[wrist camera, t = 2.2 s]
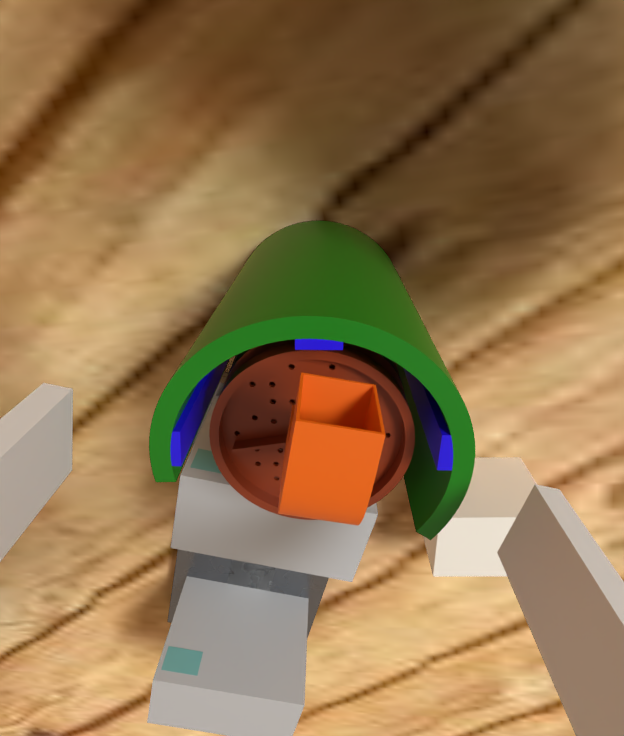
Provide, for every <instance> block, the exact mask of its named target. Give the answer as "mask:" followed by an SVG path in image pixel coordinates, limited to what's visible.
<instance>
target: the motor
mask: <svg viewBox="0 0 624 736" xmlns="http://www.w3.org/2000/svg"><path fill="white" fill-rule="evenodd" d="M235 355H236V356H235ZM233 356H235V359H234V361H233V364H232V367H231V369H230V371H229V373H228V376H227V378H226V380H225V383H224V386H223V389H222V391H221V393H220V395H219V397H218V400H217V402H216V404H215V407H214V410H213V413H212V416H211V421H210V429H209V437H210V446H211V450H212V454H213V457H214V460H215V462H216V465H217V466H218V468H219V470H220V472H221V473H222V475H223V476H224V478H225V479H226V481H227V482H228V483H229V484H230V485H231V486H232V487H233V488H234V489H235V490H236V491H237V492H238V493H239V494H240V495H242V496H243V497H244V498H245V499H247V500H248V501H250V502H251V503H253V504H255V505H257V506H258V507H260V508H262V509H265V510H267V511H269V512H272V513H275V514H278V515H281V516H285V517H289V518H295V519H303V520H324V521H330V522H337V523H344V524H350V525H360V523H361V522H362V520H363V518H364V515H365V513H366V510H367V508H368V507H370V506H371V505H373V504H375V503H376V502H378V501H379V500H381V499H382V498H383V497H385V496H386V495H387V494H388V493H389V492H390V491H391V490H392V489H393V488H394V487H395V486H396V485H397V484H398V483H399V481H400V480H401V479H402V477H403V476H404V480H405V484H406V489H407V493H408V498H409V502H410V506H411V511H412V515H413V520H414V524H415V529H416V532H418V533H419V534H421V535H423V536H424V537H426V538H428V539H429V540H432V539H433V538H434V537H435V536H436V535H437V534H438V533H439V532H440V531H441V530H442V529H443V528H444V527H445V526H446V525H447V523H448V522H449V521H450V520H451V519H452V517H453V516H454V514H455V513H456V511H457V510H458V508H459V507H460V505H461V503H462V501H463V499H464V497H465V495H466V493H467V490H468V488H469V485H470V482H471V478H472V474H473V469H474V463H475V439H474V432H473V427H472V423H471V419H470V416H469V413H468V411H467V408H466V406H465V404H464V402H463V400H462V398H461V396H460V394H459V392H458V390H457V388H456V386H455V384H454V382H453V380H452V378H451V376H450V374H449V372H448V370H447V368H446V367H445V365H444V363H443V361H442V359H441V357H440V355H439V353H438V351H437V349H436V347H435V345H434V343H433V341H432V339H431V337H430V335H429V334H428V332H427V330H426V328H425V326H424V324H423V322H422V320H421V318H420V316H419V314H418V312H417V310H416V308H415V306H414V304H413V302H412V300H411V299H410V297H409V295H408V293H407V291H406V289H405V287H404V285H403V283H402V281H401V279H400V277H399V275H398V273H397V271H396V269H395V267H394V266H393V264H392V262H391V260H390V259H389V257H388V256H387V254H386V253H385V252H384V250H383V249H382V248H381V247H380V246H379V245H378V244H377V243H376V242H375V241H374V240H372V239H371V238H370V237H368V236H367V235H365V234H364V233H362V232H361V231H359V230H357V229H355V228H352V227H350V226H347V225H344V224H341V223H336V222H330V221H308V222H302V223H297V224H294V225H291V226H288V227H285V228H283V229H281V230H279V231H277V232H276V233H274V234H272V235H271V236H269V237H268V238H267V239H265V240H264V241H263V242H262V243H261V244H260V245H259V246H258V247H257V248H256V249H255V250H254V252H253V253H252V254H251V256H250V257H249V259H248V260H247V262H246V263H245V265H244V266H243V268H242V269H241V271H240V273H239V274H238V276H237V277H236V279H235V280H234V282H233V283H232V285H231V287H230V288H229V290H228V291H227V293H226V294H225V296H224V297H223V299H222V301H221V302H220V304H219V305H218V307H217V308H216V310H215V311H214V313H213V314H212V316H211V318H210V319H209V321H208V322H207V324H206V325H205V327H204V328H203V330H202V332H201V333H200V335H199V336H198V338H197V339H196V341H195V342H194V344H193V346H192V347H191V349H190V350H189V352H188V353H187V355H186V356H185V358H184V360H183V361H182V363H181V364H180V366H179V367H178V369H177V370H176V372H175V373H174V375H173V377H172V378H171V380H170V381H169V383H168V384H167V386H166V388H165V389H164V391H163V393H162V395H161V397H160V399H159V401H158V404H157V406H156V409H155V412H154V415H153V418H152V423H151V428H150V437H149V451H150V461H151V467H152V471H153V475H154V478H155V481H156V482H176V480H177V478H178V476H179V474H180V471H181V469H182V467H183V464H184V462H185V460H186V458H187V455H188V453H189V451H190V449H191V446H192V444H193V442H194V439H195V437H196V435H197V433H198V430H199V428H200V426H201V423H202V421H203V419H204V417H205V414H206V412H207V410H208V407H209V405H210V403H211V401H212V398H213V396H214V394H215V391H216V389H217V387H218V385H219V382H220V380H221V378H222V375H223V373H224V371H225V369H226V366H227V364H228V362H229V359H230V358H231V357H233Z"/></svg>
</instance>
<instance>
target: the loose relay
mask: <svg viewBox="0 0 624 736" xmlns="http://www.w3.org/2000/svg"><path fill="white" fill-rule="evenodd" d="M534 485H537V483H536V482H535V480H534V478H533V477H532V475H531V474H530V472H529V470H528V469H527V467H526V466H525V464H524V462H523V461H522V459H521V458H520V457H496V458H475V463H474V469H473V474H472V478H471V482H470V485H469V488H468V490H467V493H466V495H465V497H464V499H463V501H462V503H461V505H460V507H459V508H458V510H457V511H456V513H455V514H454V516H453V517H452V519H451V520H450V521H449V522H448V523H447V525H446V526H445V527H444V528H443V529H442V530H441V531H440V532H439V533H438V534H437V535H436V536H435V537H434V538H433V539H432V540H429V539H428V538H426V537H424V536H423V538H424V542H425V546H426V550H427V554H428V558H429V562H430V566H431V570H432V574H433V576H507V574H506V572H505V570H504V567H503V565H502V563H501V560H500V558H499V556H498V553H497V552H498V550H499V548H500V546H501V544H502V543H503V541H504V539H505V537H506V535H507V534H508V532H509V530H510V528H511V526H512V525H513V523H514V521H515V519H516V517H517V516H518V514H519V512H520V510H521V508H522V507H523V505H524V503H525V501H526V499H527V497H528V496H529V494H530V492H531V490H532V488H533V487H534Z"/></svg>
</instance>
